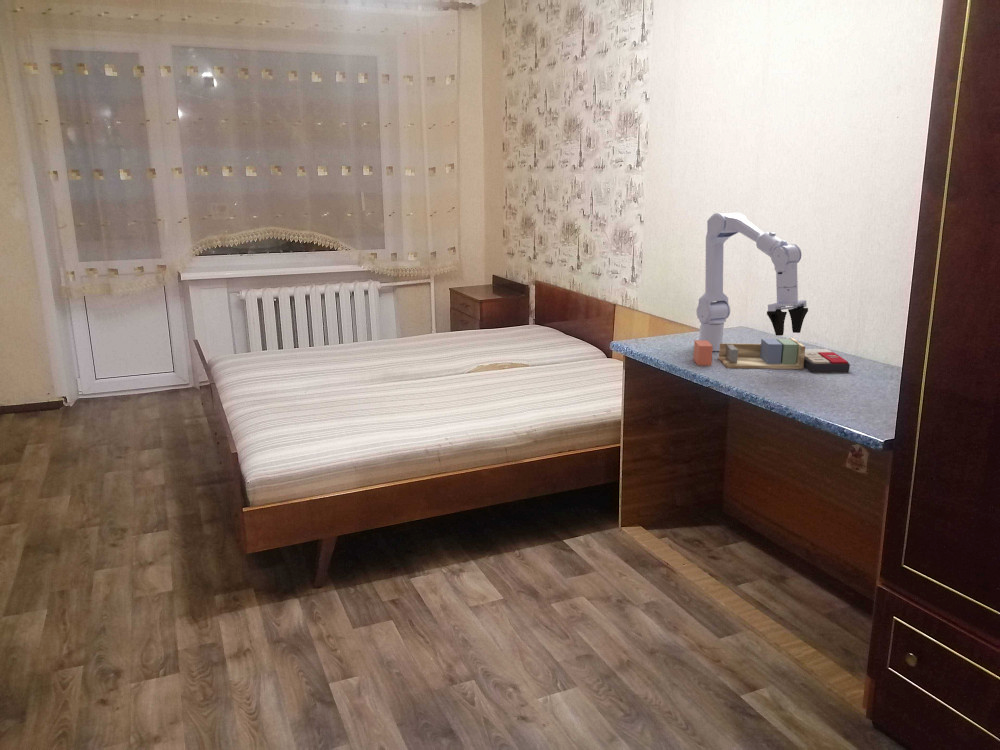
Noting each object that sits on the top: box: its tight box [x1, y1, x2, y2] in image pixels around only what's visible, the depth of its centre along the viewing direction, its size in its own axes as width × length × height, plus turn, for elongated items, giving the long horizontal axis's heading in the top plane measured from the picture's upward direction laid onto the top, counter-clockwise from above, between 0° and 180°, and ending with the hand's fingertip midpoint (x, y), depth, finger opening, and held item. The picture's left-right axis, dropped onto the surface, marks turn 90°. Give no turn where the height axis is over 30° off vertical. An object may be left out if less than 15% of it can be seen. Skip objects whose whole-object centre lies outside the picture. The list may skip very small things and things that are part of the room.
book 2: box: [760, 338, 782, 364], centre depth 227 cm, size 8×4×6 cm, turn 176°
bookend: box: [725, 345, 738, 363], centre depth 229 cm, size 7×2×4 cm, turn 176°
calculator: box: [803, 348, 851, 374], centre depth 225 cm, size 11×4×15 cm
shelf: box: [718, 337, 806, 370], centre depth 227 cm, size 12×22×7 cm, turn 86°
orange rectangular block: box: [692, 339, 713, 366], centre depth 230 cm, size 8×4×6 cm, turn 176°
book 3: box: [775, 338, 798, 364], centre depth 227 cm, size 8×4×6 cm, turn 176°
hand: (788, 334), depth 219 cm, fingers open, 7 cm apart
